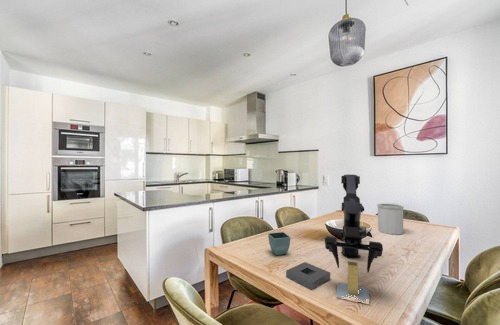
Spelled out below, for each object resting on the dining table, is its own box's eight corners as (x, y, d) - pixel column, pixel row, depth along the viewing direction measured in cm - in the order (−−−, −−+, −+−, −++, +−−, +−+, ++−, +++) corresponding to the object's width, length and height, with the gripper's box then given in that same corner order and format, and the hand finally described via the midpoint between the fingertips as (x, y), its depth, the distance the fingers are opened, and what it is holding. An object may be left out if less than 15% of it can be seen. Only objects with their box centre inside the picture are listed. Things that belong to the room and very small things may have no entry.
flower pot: (273, 257, 108) (274, 238, 108) (267, 250, 117) (267, 233, 117) (290, 255, 111) (290, 237, 111) (283, 248, 119) (283, 231, 119)
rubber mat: (337, 283, 85) (337, 282, 85) (367, 289, 81) (367, 288, 81) (336, 298, 76) (336, 297, 76) (370, 305, 72) (370, 304, 72)
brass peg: (347, 289, 81) (347, 261, 81) (357, 291, 79) (357, 262, 79) (348, 293, 78) (348, 264, 78) (357, 295, 77) (357, 266, 77)
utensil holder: (372, 229, 153) (372, 203, 153) (386, 227, 159) (386, 201, 159) (393, 236, 139) (394, 207, 139) (408, 233, 146) (408, 205, 146)
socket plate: (305, 267, 98) (305, 262, 98) (330, 278, 89) (330, 272, 89) (286, 276, 90) (286, 270, 90) (311, 289, 81) (311, 282, 81)
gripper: (325, 214, 86) (322, 255, 76) (382, 219, 79) (387, 264, 68) (326, 229, 93) (324, 268, 83) (379, 235, 86) (383, 278, 76)
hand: (352, 269), depth 77 cm, fingers open, 9 cm apart
